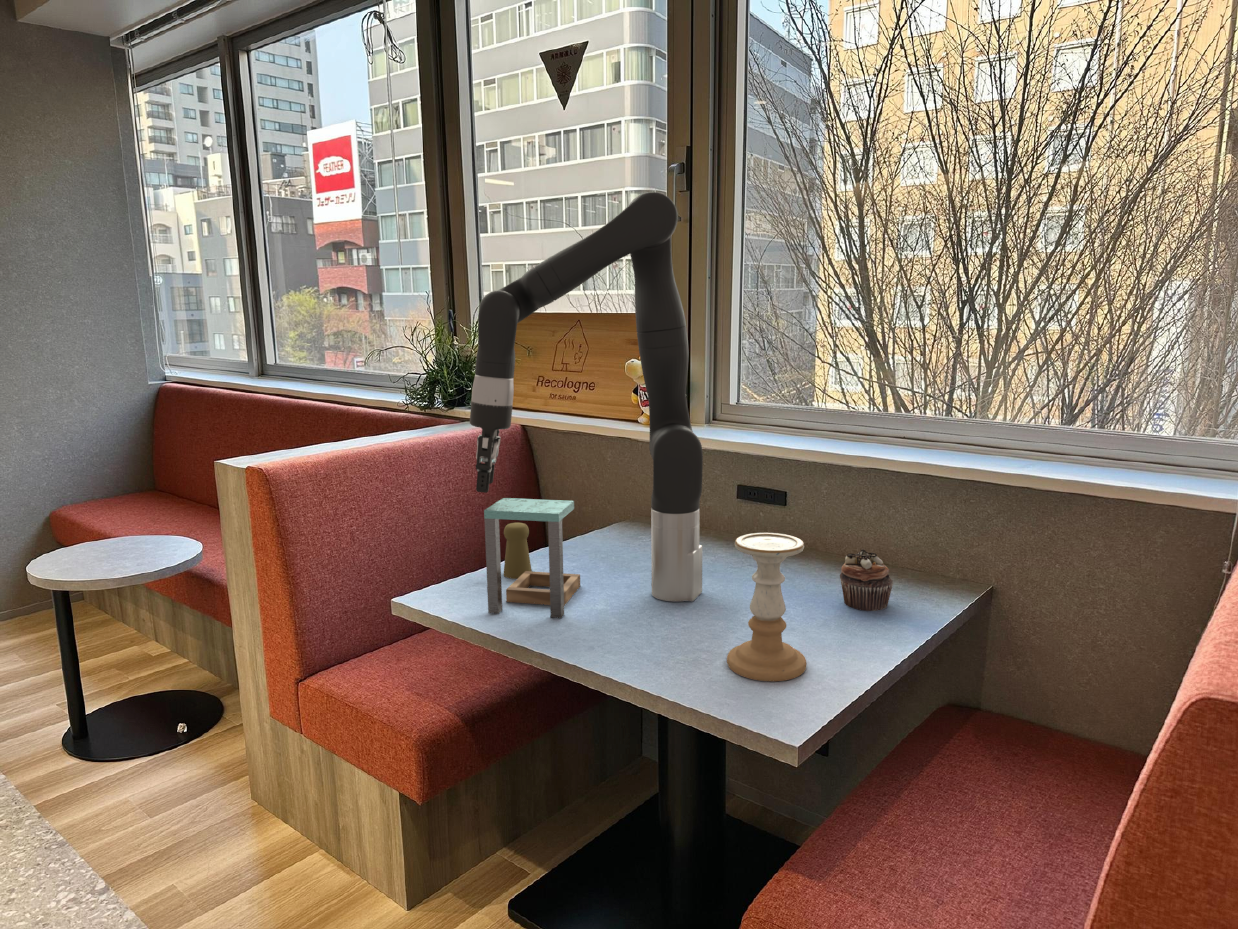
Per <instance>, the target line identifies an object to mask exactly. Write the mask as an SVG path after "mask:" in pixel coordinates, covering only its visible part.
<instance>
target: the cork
mask: <svg viewBox="0 0 1238 929" xmlns="http://www.w3.org/2000/svg"><path fill="white" fill-rule="evenodd" d="M529 534H530V530H529V526H528V525H527V524H526V523H523V522H511V523H507V525H505V527H504V529H503V535H504V538H505V540H506V544H505V557H504V566H503V577H505V578H507V579H512V580H517V579H518V578H519V577H520V576H521V575H522V574H523V573H524V572H525V571H532V572H533V569H532V563H531V558H530V552H529V546H528V545H529V544H528V542H527V541H528V540H527V539H528V537H529Z"/></svg>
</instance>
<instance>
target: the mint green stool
mask: <svg viewBox="0 0 1238 929" xmlns="http://www.w3.org/2000/svg"><path fill="white" fill-rule="evenodd" d="M573 510H575V500H560V499H559V500H558V499H541V498H540V499H537V498H534V499H533V498H516V497H515V498H514V497H513V498H511V497H503V498H501V499H500V500H497V501H496V502H495V503H493V504H492V505H490V506H489V507H487V508H485V509H484V510H483V513H484V514H483V516H484V517H483V519H484V538H485V561H486V562H485V564H486V586H487V587H486V588H487V589H486V590H487V591H486V592H487V610H488V611H487V612H488V614H494V615H495V614H497V615H499V614H500V613H501V612H502V611H503V593H502V591H503V590H502V568H501V567H502V566H501V565H502V564H501V562H502V561H501V542H500V539H501V537H500V536H501V535H500V520H512V521H513V520H514V521H533V522H535V521H536V522H547V526H548V527H547V531H548V566H549V567H548V568H549V569H548V570H549V575H550V587H549V590H550V605H549V606H550V607H549V608H550V611H549V612H550V619H551V618H553V619H562V618H563V617H564V616H565V606H564V579H563V573H564V543H563V539H564V538H563V520H564V518H565V517H566V516H567V515H569V514H570V513H571V512H572V511H573ZM563 615H564V616H563ZM562 616H563V617H562Z"/></svg>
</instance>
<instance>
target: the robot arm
mask: <svg viewBox="0 0 1238 929" xmlns="http://www.w3.org/2000/svg"><path fill="white" fill-rule="evenodd" d="M678 216H679V215H678V210H677V206H676V204H675V203H674V202H673V200H672V199H671V198H670V197H669V196H667V195H665V194H664V193H661V192H658V191H647V192H644V193H641V194H638V195H637V196H636V197H634V198H632V200H631V202H630V203H629V204H628V206H627V207H625V208H624V209H623V210H622V211H621V212H620V213H619V214H617V215H616V216H615V217H614V218H613V219H611V220H610V221H609V222H607V223H606V224H605V225H603V226H602V227H600V228H599V229H597V230H595V231H594V232H593V233H591V234H589V235H588V236H586V237H584V238H582V239H580V240H579V241H576V242H575V243H573V244H571V245H570V246H567V247H565V248H563V249H562V250H560V251H558V252H556V253H554V254H553V255H551V256H549V257H548V258H547V259H545V260H542V261H541V262H540V263H538V264H536V265H535V266H533V267H531V268H530V269H528V270H527V271H526V272H524V273H523V274H522V275H521V277H519V278H517V279H516V280H514V281H512V282H510V283H508V284H507V285H505V286H503V287H501V288H500V289H497V290H492V291H490V292H487V293H486V295H484V296H483V297H482V299H481V301H480V304H479V308H478V318H477V319H478V320H477V321H478V323H477V326H478V327H477V328H478V329H477V330H478V331H477V337H478V338H477V342H478V344H477V346H478V347H477V352H476V358H475V360H476V361H475V372H474V378H473V383H472V389H471V391H472V392H471V403H470V413H469V414H470V415H469V425H471V426H473V427H475V428H481V434H479V435H478V436H477V439H476V453H475V458H476V464H475V470H476V472H477V476H476V488H475V490H476V493H477V492H478V493H485V494H486V493H488V492H489V490H490V485H492V484H493V482H494V474H495V464H496V462H497V459H498V456H499V452H500V451H499V450H500V449H499V448H500V445H501V436H499V435H500V432H501V431H500V430H508V429H509V428H510V427H511V425H512V417H513V416H512V415H513V414H512V413H513V403H514V392H515V390H514V389H515V387H514V386H515V385H514V378H515V368H516V365H515V364H516V351H515V350H516V349H515V343H516V337H517V330H518V329H517V328H518V324H519V323H520V322H521V321H523V320H525V319H526V318H528V317H529V316H531V315H532V314H534V313H535V312H536V311H538V310H540V308H543V307H545V306H548V305H549V304H552V303H554V302H555V301H557V300H558V299H560V298H563V296H565V295H567V294H569V293H570V292H572V291H574V290H575V289H577V288H578V287H580V286H581V285H582V284H584V283H586V282H587V281H588V280H589V279H591V278H593V277H594V276H596V274H598V273H600V272H601V271H602V270H604V269H606V268H607V267H609V266H610V265H613V263H615V262H617V261H620V259H623V258H624V257H626V256H628V255H630V259H631V264H632V269H633V270H632V271H633V277H634V278H633V279H634V308H635V309H634V311H635V324H636V336H637V345H638V352H639V358H640V365H641V369H642V375H643V380H644V386H645V390H646V393H647V399H648V410H649V411H648V412H649V416H648V417H649V443H648V444H649V453H650V455H651V458H652V465H653V466H652V467H653V470H652V471H653V472H652V474H653V476H652V478H653V480H652V492H651V496H650V498H651V500H650V503H651V504H650V506H651V508H650V510H651V512H650V516H651V517H650V519H651V521H650V523H651V525H650V526H651V527H650V528H651V530H650V531H651V536H650V537H651V542H650V543H651V548H650V550H651V553H650V554H651V556H650V557H651V559H650V560H651V581H650V582H651V583H650V584H651V595H652V597H654V598H656V599H657V600H661V601H666V602H684V601H685V602H687V601H688V602H694V601H695V600H696V599H697V598H698V597H699V596H700V595H701V594H702V592H703V545H702V544H700V507H701V506H700V502H701V496H702V492H703V468H704V467H703V465H704V464H703V462H704V459H703V458H704V457H703V456H704V455H703V447H702V446H703V445H702V443H701V440H700V438H699V437H698V436H697V434H696V433H694V431H693V429H692V424H691V421H690V420H691V418H690V414H689V408H688V402H687V382H688V375H689V374H688V373H689V372H688V371H689V359H690V358H689V353H690V352H689V340H688V330H687V322H686V317H685V316H686V315H685V312H684V307H683V303H682V299H681V296H680V293H679V288H678V287H677V286H678V285H677V283H676V278H675V274H674V268H673V255H672V254H673V250H672V248H673V247H672V237H673V236H672V235H674V233H675V230H676V229H677V226H678V220H679V219H678Z"/></svg>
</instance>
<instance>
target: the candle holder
mask: <svg viewBox="0 0 1238 929" xmlns="http://www.w3.org/2000/svg"><path fill="white" fill-rule="evenodd" d="M734 546H735V549H736V550H738V552H741V553H743V554H745V555H749V556H751V557H752V559H753V560H754V561H755V562H756V565H757V566H756V567H757V568H756V571H755V572H754V573H753V574H752V575H751V580H752V581H753V582H755V587H754V591H753V595H752V597H751V601H750V604H749V610H750V613H751V614H752V617H751V618H750V619H749V620H748V622H747V624H748V627H749V629H750V630H751V631H752V635H751V640H747V641H744V642H742V643H741V644H740V645H736V646H735V647H733V648H732V649H730V650H729V651H728V653H727V655H726V663H727V667H728V668H729V669H730V670H731V672H734V674H736V675H738V676H740V677H744V678H746V679H748V680H749V679H751V680H754V681H761V682H783V681H788V680H789V681H790V680H794V679H796V678H799V677H800V676H801V675H803V674H804V673H805V672H806V669H807V663H808V662H807V659H806V656H805V655H804V654H803V653H802V652H801V651H800V650H798V649H796V648H794V647H793V646H792V645H790V644H789V643H787V642H783V635H782V633H783V632H784V631H785V630H786V629H787V625H788V624H787V622H786V620H784V619H783V616H784V615H785V613H786V609H787V608H786V607H787V606H786V603H785V600H784V596H783V592H782V584H783V583H784V582H785V580H786V576H785V575H784V574H783V573H782V572H781V564H782V563H783V562H784V561H785V560H786V558H787V557H792V556H796V555H798V554H801V553H803V550H804V548H805V543H804V541H803V540H802V539H801V538H798V537H796V536H793V535H789V534H785V533H778V532H754V533H753V532H752V533H751V532H750V533H746V534H743V535H740V536H738V537H736V539H735V541H734Z"/></svg>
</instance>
